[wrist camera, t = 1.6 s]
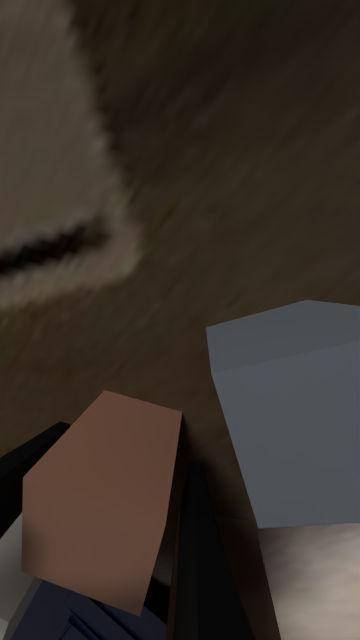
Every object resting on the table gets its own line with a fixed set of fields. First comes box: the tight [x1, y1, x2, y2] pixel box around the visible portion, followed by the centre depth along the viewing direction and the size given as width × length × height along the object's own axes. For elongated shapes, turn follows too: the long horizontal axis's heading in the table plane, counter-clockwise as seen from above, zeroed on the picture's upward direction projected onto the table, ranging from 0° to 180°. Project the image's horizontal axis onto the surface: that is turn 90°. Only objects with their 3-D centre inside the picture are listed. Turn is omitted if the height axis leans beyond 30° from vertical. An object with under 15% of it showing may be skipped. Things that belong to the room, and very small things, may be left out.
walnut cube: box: [166, 511, 281, 640], centre depth 9 cm, size 5×5×5 cm
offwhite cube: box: [0, 513, 43, 640], centre depth 10 cm, size 5×5×5 cm
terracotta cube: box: [21, 390, 182, 617], centre depth 8 cm, size 5×5×5 cm
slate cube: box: [206, 300, 360, 528], centre depth 6 cm, size 5×5×5 cm
